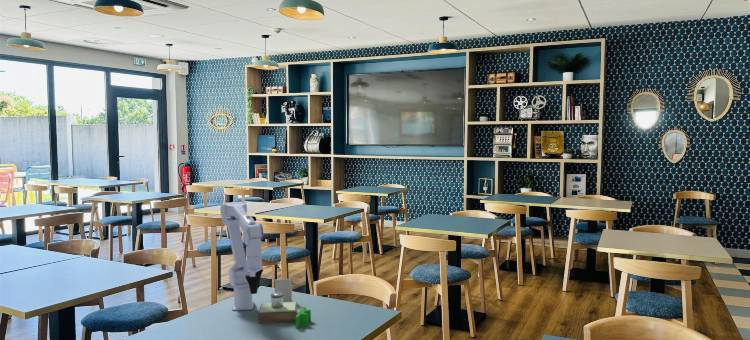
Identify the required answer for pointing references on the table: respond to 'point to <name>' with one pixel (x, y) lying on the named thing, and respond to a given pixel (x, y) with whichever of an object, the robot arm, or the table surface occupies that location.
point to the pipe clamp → (303, 317)
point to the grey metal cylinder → (277, 300)
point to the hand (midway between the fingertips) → (255, 290)
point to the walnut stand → (277, 313)
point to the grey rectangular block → (284, 288)
